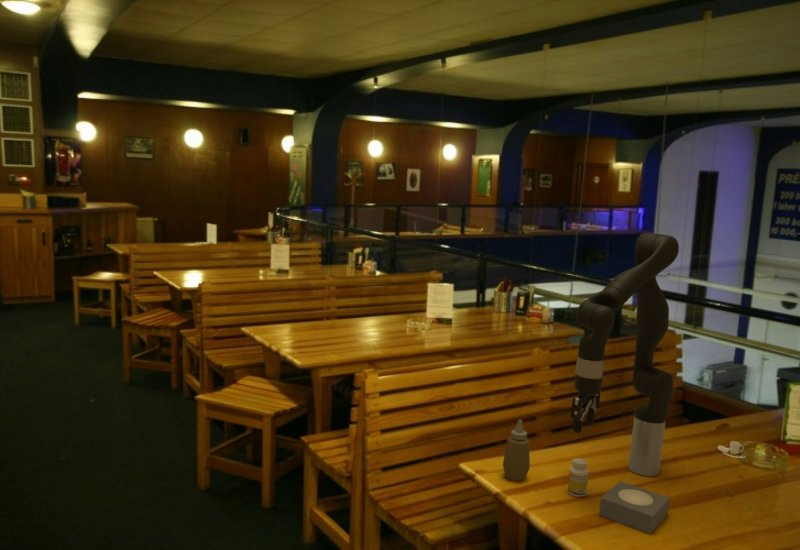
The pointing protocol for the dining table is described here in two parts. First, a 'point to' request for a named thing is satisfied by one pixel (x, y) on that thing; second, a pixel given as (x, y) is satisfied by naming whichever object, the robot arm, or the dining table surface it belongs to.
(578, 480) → the supplement bottle
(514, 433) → the squeeze bottle
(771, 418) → the dining table surface
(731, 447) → the teacup and saucer
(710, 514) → the dining table surface
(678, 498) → the dining table surface
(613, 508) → the charcoal stand
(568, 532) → the dining table surface
